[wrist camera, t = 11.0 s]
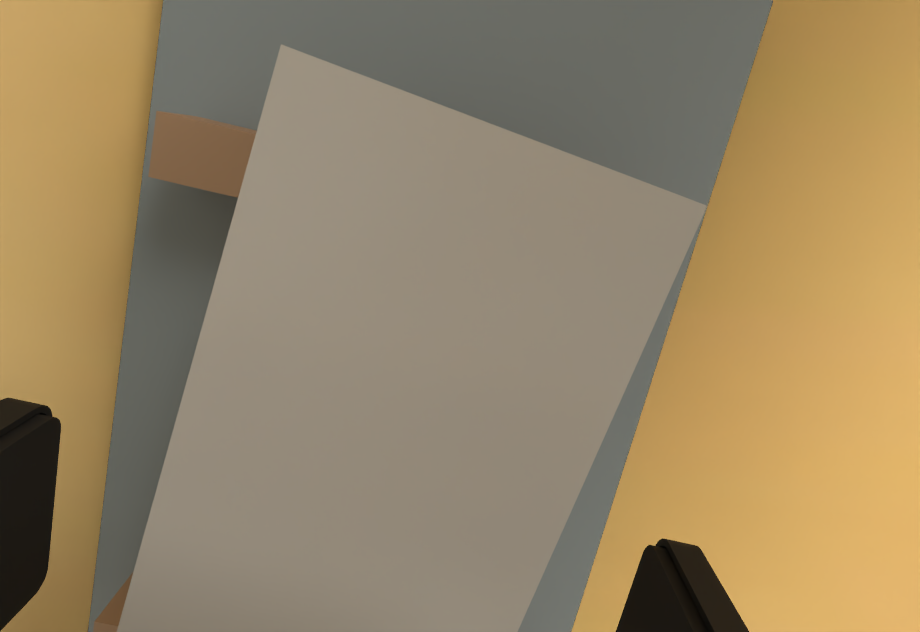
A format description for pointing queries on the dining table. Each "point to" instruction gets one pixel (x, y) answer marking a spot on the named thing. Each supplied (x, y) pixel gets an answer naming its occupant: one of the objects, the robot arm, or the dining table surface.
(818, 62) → the dining table surface
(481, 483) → the light grey block
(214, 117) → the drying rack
